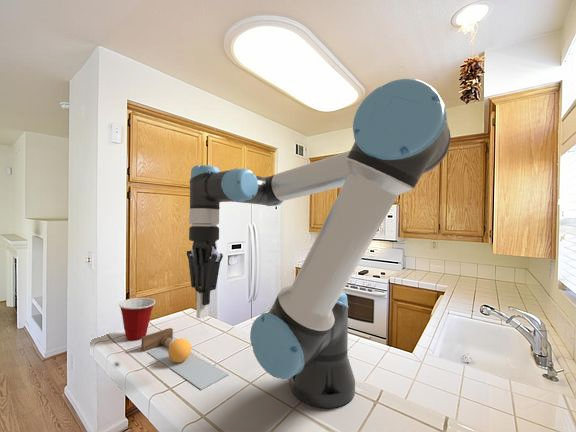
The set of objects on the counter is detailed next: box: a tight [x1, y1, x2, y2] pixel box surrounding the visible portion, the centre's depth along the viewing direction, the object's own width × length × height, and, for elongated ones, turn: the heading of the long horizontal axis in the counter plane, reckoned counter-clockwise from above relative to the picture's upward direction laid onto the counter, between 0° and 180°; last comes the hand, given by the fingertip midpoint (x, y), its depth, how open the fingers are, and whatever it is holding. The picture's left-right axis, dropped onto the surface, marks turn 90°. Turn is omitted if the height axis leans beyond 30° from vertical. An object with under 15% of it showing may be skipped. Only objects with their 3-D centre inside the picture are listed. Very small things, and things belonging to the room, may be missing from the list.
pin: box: [161, 336, 176, 347], centre depth 81 cm, size 2×2×8 cm
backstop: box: [140, 327, 174, 353], centre depth 82 cm, size 2×9×4 cm, turn 142°
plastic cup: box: [118, 297, 156, 342], centre depth 88 cm, size 11×11×12 cm
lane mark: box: [146, 345, 230, 391], centre depth 72 cm, size 28×8×1 cm, turn 52°
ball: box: [168, 337, 192, 363], centre depth 73 cm, size 6×6×6 cm
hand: (202, 316), depth 68 cm, fingers closed
